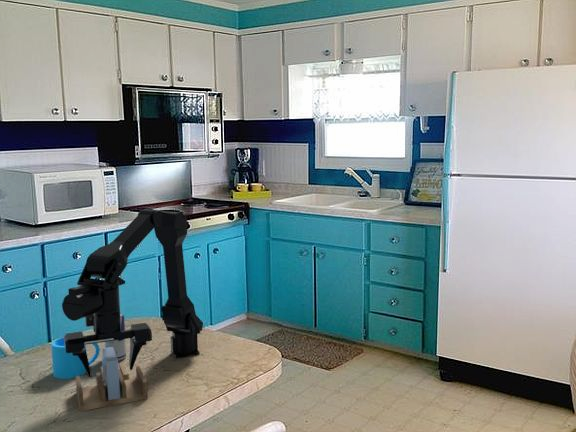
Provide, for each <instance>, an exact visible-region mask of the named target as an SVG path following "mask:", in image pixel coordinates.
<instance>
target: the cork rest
mask: <svg viewBox="0 0 576 432" xmlns="http://www.w3.org/2000/svg"><path fill="white" fill-rule="evenodd" d="M118 369H120V371H121V374H122V376H123V379H124V380H130V375H129V371H128V369H127V366H126V364H125V362H124V361H123V362H118ZM100 375H101V378H102V382H103V383H104V380H103V365H100Z"/></svg>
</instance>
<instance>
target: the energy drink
mask: <svg viewBox="0 0 576 432" xmlns="http://www.w3.org/2000/svg"><path fill="white" fill-rule="evenodd" d="M120 317H121V331H124V330H126V327H125V326H126V325H125V324H126V322H125V316H124V313H123V312H120ZM126 340H127V339H121V340H114V341H107V342H104V348H107V347H113V349H114V351H115V354H116V356H117V359H118V362H120V361H123V360H124V359H126V357H127V346H126V345H127V343H126Z"/></svg>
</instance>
